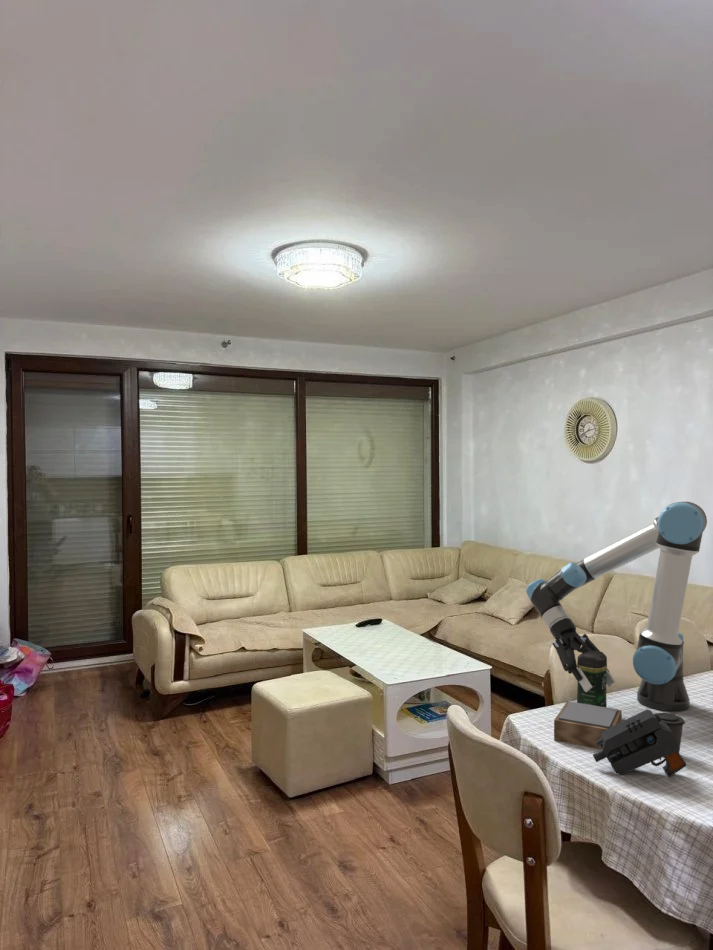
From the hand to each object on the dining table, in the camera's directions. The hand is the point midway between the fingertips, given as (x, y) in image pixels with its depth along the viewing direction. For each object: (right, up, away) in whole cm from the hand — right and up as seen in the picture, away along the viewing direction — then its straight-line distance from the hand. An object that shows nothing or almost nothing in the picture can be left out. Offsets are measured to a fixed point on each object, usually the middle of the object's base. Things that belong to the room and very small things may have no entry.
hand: (600, 686), depth 196 cm
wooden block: (-9, -9, -14) cm, 19 cm away
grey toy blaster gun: (-5, -9, -37) cm, 38 cm away
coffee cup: (+7, -9, -26) cm, 29 cm away
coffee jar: (-2, -9, +3) cm, 10 cm away
